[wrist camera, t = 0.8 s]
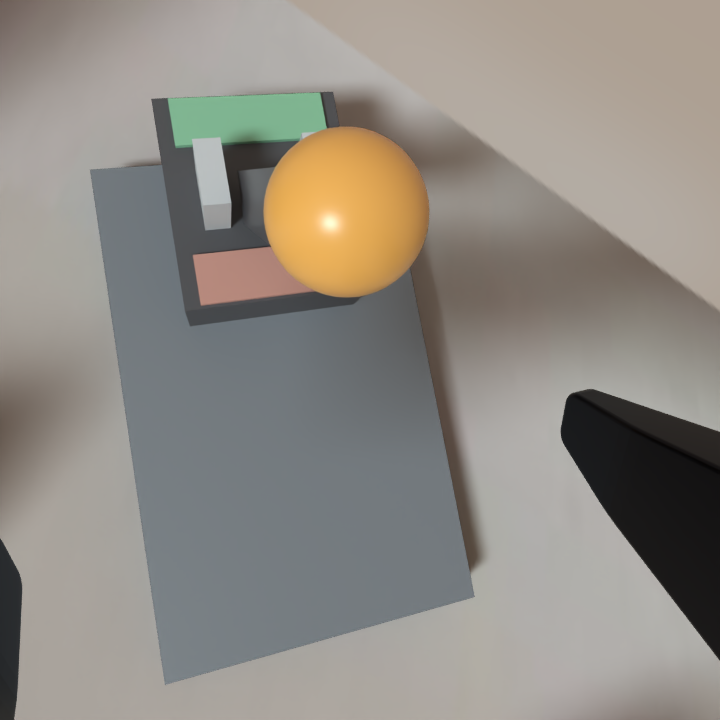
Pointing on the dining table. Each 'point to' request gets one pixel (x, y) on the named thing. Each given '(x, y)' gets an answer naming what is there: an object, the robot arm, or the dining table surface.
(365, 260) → the lever
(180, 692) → the dining table surface
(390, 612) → the switch box
